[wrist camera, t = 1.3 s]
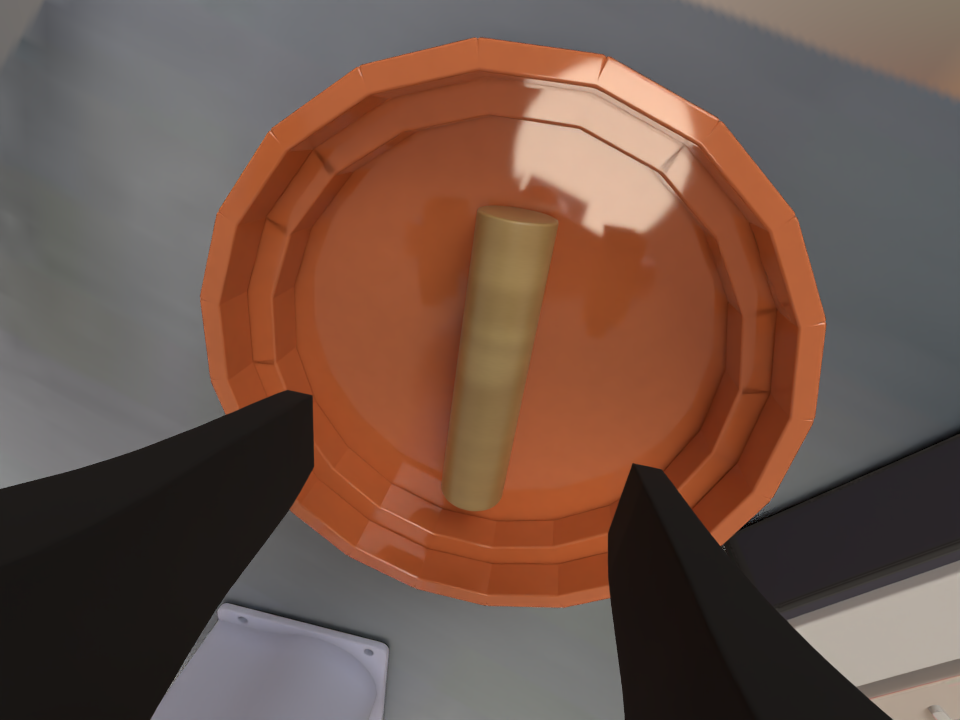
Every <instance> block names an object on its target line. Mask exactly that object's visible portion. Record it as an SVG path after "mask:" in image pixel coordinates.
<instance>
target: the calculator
mask: <svg viewBox="0 0 960 720" xmlns="http://www.w3.org/2000/svg"><path fill="white" fill-rule="evenodd" d="M724 546H725V549H726V551H727V554H728V556H729V557H730V558H731V560H732V561H733V562H734V563H735V564H736V566H737V567H738V568H739V569H740V570H741V571H742V572H743V574H744V575H745V576H746V577H747V578H748V579H749V580H750V582H751V583H752V584H753V585H754V586H755V587H756V588H757V590H758V591H759V592H760V593H761V594H762V595H763V596H764V597H765V598H766V600H767V601H768V602H769V603H770V604H771V605H772V606H773V607H774V608H775V609H776V610H777V611H778V612H779V613H780V614H781V615H782V616H783V617H784V618H785V619H786V620H787V621H788V622H789V623H790V624H791V625H792V627H793V628H794V629H795V630H796V631H797V632H798V633H799V634H800V635H801V636H802V637H803V638H804V639H805V640H806V641H807V642H808V643H809V644H810V645H811V646H812V647H813V648H814V649H815V650H816V651H818V652H819V653H820V654H821V655H822V656H823V657H824V658H825V659H826V660H827V661H828V662H829V663H830V664H831V665H832V666H833V667H834V668H836V669H837V670H838V671H839V672H840V673H841V674H842V675H843V676H844V677H846V678H847V679H848V680H849V681H850V682H851V683H852V684H853V685H854V686H856V687H857V688H858V689H859V690H860V691H861V692H862V693H863V694H864V695H866V696H867V697H868V698H869V699H870V700H871V701H872V702H873V703H875V704H876V705H877V706H878V707H879V708H880V709H881V710H882V711H884V712H885V713H886V714H887V715H888V716H890V717H891V718H892V719H893V720H960V434H958V435H956V436H953V437H951V438H949V439H946V440H944V441H942V442H940V443H937V444H935V445H933V446H931V447H928V448H926V449H924V450H921V451H919V452H917V453H915V454H912V455H910V456H908V457H905V458H903V459H901V460H899V461H896V462H894V463H892V464H890V465H887V466H885V467H883V468H880V469H878V470H876V471H874V472H871V473H869V474H867V475H864V476H862V477H860V478H858V479H855V480H853V481H851V482H848V483H846V484H844V485H842V486H839V487H837V488H835V489H833V490H830V491H828V492H826V493H823V494H821V495H819V496H817V497H814V498H812V499H810V500H807V501H805V502H803V503H801V504H798V505H796V506H794V507H792V508H789V509H787V510H785V511H782V512H780V513H778V514H776V515H773V516H771V517H769V518H766V519H764V520H762V521H760V522H757V523H755V524H753V525H750V526H748V527H746V528H744V529H741V530H739V531H737V532H736V533H735V534H734V535H733V536H732V537H731V538H730V539H729V540H727V541H726V542H725V543H724Z"/></svg>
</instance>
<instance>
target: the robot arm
mask: <svg viewBox="0 0 960 720" xmlns="http://www.w3.org/2000/svg"><path fill="white" fill-rule="evenodd" d="M313 468H314V432H313V395H310V394H305V393H301V392H296V391H291V390H285V391H282V392H279V393H277V394H274V395H272V396H269V397H267V398H264V399H262V400H260V401H257V402H255V403H252V404H250V405H248V406H246V407H243V408H241V409H239V410H236V411H234V412H232V413H229V414H227V415H225V416H222V417H220V418H218V419H215V420H213V421H210V422H208V423H206V424H203V425H201V426H199V427H196V428H194V429H191V430H189V431H186V432H183V433H181V434H178V435H176V436H173V437H170V438H168V439H165V440H163V441H160V442H157V443H155V444H152V445H150V446H147V447H144V448H142V449H139V450H136V451H133V452H130V453H127V454H124V455H121V456H118V457H115V458H112V459H109V460H106V461H102V462H99V463H96V464H93V465H89V466H86V467H83V468H80V469H76V470H73V471H69V472H65V473H62V474H58V475H54V476H50V477H46V478H42V479H38V480H34V481H30V482H26V483H22V484H18V485H14V486H10V487H7V488H3V489H0V720H383V717H384V705H385V694H386V682H387V670H388V659H389V648H388V646H387V645H386V644H384V643H382V642H379V641H375V640H371V639H367V638H363V637H359V636H355V635H351V634H347V633H343V632H339V631H336V630H332V629H328V628H324V627H320V626H316V625H312V624H308V623H304V622H300V621H296V620H292V619H289V618H285V617H281V616H277V615H273V614H269V613H265V612H261V611H257V610H253V609H249V608H245V607H241V606H238V605H234V604H230V603H224V604H222V605H221V606H220V607H219V609H218V610H217V614H218V621H217V623H216V624H215V625H214V627H213V628H212V630H211V631H210V632H209V634H208V635H207V637H206V638H205V639H204V641H203V642H202V644H201V645H200V646H199V648H198V649H197V651H196V652H195V653H194V655H193V656H192V658H191V659H190V660H189V662H188V663H187V665H186V666H185V667H184V669H183V670H182V672H181V673H180V674H179V676H178V677H177V679H176V680H175V681H174V683H173V684H172V686H171V687H170V685H171V683H172V681H173V680H174V678H175V676H176V674H177V673H178V671H179V669H180V668H181V666H182V664H183V662H184V661H185V659H186V657H187V656H188V654H189V652H190V651H191V649H192V647H193V646H194V644H195V643H196V641H197V639H198V638H199V636H200V634H201V633H202V631H203V630H204V628H205V626H206V625H207V623H208V621H209V620H210V618H211V616H212V615H213V613H214V612H215V610H216V609H217V607H218V606H219V604H220V603H221V601H222V600H223V598H224V597H225V596H226V594H227V593H228V591H229V590H230V588H231V587H232V586H233V584H234V583H235V582H236V580H237V579H238V578H239V576H240V575H241V574H242V572H243V571H244V570H245V568H246V567H247V566H248V564H249V563H250V562H251V560H252V559H253V558H254V556H255V555H256V554H257V552H258V551H259V550H260V548H261V547H262V546H263V545H264V543H265V542H266V541H267V539H268V538H269V537H270V535H271V534H272V533H273V531H274V530H275V528H276V527H277V526H278V524H279V523H280V522H281V520H282V519H283V518H284V516H285V515H286V514H287V512H288V511H289V509H290V508H291V507H292V505H293V504H294V502H295V500H296V499H297V497H298V495H299V493H300V492H301V490H302V488H303V486H304V485H305V483H306V481H307V479H308V477H309V475H310V473H311V472H312V470H313ZM608 582H609V590H610V598H611V606H612V614H613V622H614V629H615V637H616V645H617V652H618V660H619V667H620V675H621V683H622V691H623V702H624V713H625V720H893V719H892V718H891V717H890V716H888V715H887V714H886V713H885V712H884V711H882V710H881V709H880V708H879V707H878V706H877V705H876V704H875V703H873V702H872V701H871V700H870V699H869V698H868V697H867V696H866V695H864V694H863V693H862V692H861V691H860V690H859V689H858V688H857V687H856V686H854V685H853V684H852V683H851V682H850V681H849V680H848V679H847V678H846V677H844V676H843V675H842V674H841V673H840V672H839V671H838V670H837V669H836V668H834V667H833V666H832V665H831V664H830V663H829V662H828V661H827V660H826V659H825V658H824V657H823V656H822V655H821V654H820V653H819V652H818V651H816V650H815V649H814V648H813V647H812V646H811V645H810V644H809V643H808V642H807V641H806V640H805V639H804V638H803V637H802V636H801V635H800V634H799V633H798V632H797V631H796V630H795V629H794V628H793V627H792V625H791V624H790V623H789V622H788V621H787V620H786V619H785V618H784V617H783V616H782V615H781V614H780V613H779V612H778V611H777V610H776V609H775V608H774V607H773V606H772V605H771V604H770V603H769V602H768V601H767V600H766V598H765V597H764V596H763V595H762V594H761V593H760V592H759V591H758V590H757V588H756V587H755V586H754V585H753V584H752V583H751V582H750V580H749V579H748V578H747V577H746V576H745V575H744V574H743V572H742V571H741V570H740V569H739V568H738V567H737V566H736V564H735V563H734V562H733V561H732V560H731V558H730V557H729V556H728V555H727V554H726V552H725V551H724V550H723V549H722V547H721V546H720V545H719V544H718V542H717V541H716V540H715V539H714V537H713V536H712V535H711V534H710V532H709V531H708V530H707V528H706V527H705V526H704V525H703V523H702V522H701V521H700V519H699V518H698V517H697V515H696V514H695V513H694V511H693V510H692V509H691V507H690V506H689V505H688V503H687V502H686V501H685V499H684V498H683V497H682V495H681V494H680V493H679V491H678V490H677V489H676V487H675V486H674V485H673V483H672V482H671V481H670V479H669V478H668V477H667V475H666V474H665V473H664V472H663V470H662V469H658V468H653V467H649V466H644V465H639V464H635V463H632V466H631V469H630V472H629V475H628V477H627V480H626V483H625V486H624V489H623V492H622V494H621V497H620V500H619V503H618V506H617V509H616V511H615V514H614V517H613V520H612V523H611V526H610V528H609V531H608ZM169 687H170V688H169ZM168 688H169V690H168ZM167 690H168V691H167ZM166 692H167V693H166ZM165 693H166V694H165Z"/></svg>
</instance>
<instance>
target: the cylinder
mask: <svg viewBox="0 0 960 720" xmlns="http://www.w3.org/2000/svg"><path fill="white" fill-rule="evenodd" d="M558 224H559V223H558V220H557V219H555V218H554V217H552V216H550V215H547V214H544V213H540V212H537V211H532V210H528V209H522V208H516V207H508V206H483V207H480V208H478V210H477V215H476V223H475V230H474V238H473V246H472V253H471V261H470V268H469V276H468V284H467V291H466V299H465V307H464V314H463V322H462V329H461V337H460V345H459V352H458V360H457V367H456V375H455V383H454V390H453V398H452V405H451V413H450V421H449V428H448V436H447V444H446V451H445V459H444V466H443V474H442V482H441V490H442V493H443V495H444V496H445V498H446V499H447V500H448V501H449V502H450V503H451V504H453V505H454V506H456V507H458V508H461V509H464V510H468V511H483V510H487V509H490V508H492V507H494V506H495V505H496V504H497V503H498V502H499V501H500V500H501V498H502V494H503V489H504V485H505V480H506V475H507V470H508V465H509V460H510V456H511V451H512V446H513V441H514V436H515V432H516V427H517V422H518V417H519V412H520V407H521V403H522V398H523V393H524V388H525V383H526V379H527V374H528V369H529V364H530V359H531V354H532V350H533V345H534V340H535V335H536V330H537V326H538V321H539V316H540V311H541V306H542V301H543V297H544V292H545V287H546V282H547V277H548V273H549V268H550V263H551V258H552V253H553V248H554V244H555V239H556V234H557V229H558Z"/></svg>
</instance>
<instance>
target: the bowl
mask: <svg viewBox="0 0 960 720" xmlns="http://www.w3.org/2000/svg"><path fill="white" fill-rule="evenodd" d="M483 206H508V207H516V208H522V209H528V210H532V211H537V212H540V213H544V214H547V215H550V216H552V217H554V218H555V219H557V220H558V223H559V224H558V229H557V234H556V239H555V244H554V248H553V253H552V258H551V263H550V268H549V273H548V277H547V282H546V287H545V292H544V297H543V301H542V306H541V311H540V316H539V321H538V326H537V330H536V335H535V340H534V345H533V350H532V354H531V359H530V364H529V369H528V374H527V379H526V383H525V388H524V393H523V398H522V403H521V407H520V412H519V417H518V422H517V427H516V432H515V436H514V441H513V446H512V451H511V456H510V460H509V465H508V470H507V475H506V480H505V485H504V489H503V494H502V498H501V500H500V501H499V502H498V503H497V504H496V505H495V506H494V507H492V508H490V509H487V510H483V511H468V510H464V509H461V508H458V507H456V506H454V505H453V504H451V503H450V502H449V501H448V500H447V499H446V498H445V496H444V495H443V493H442V490H441V482H442V474H443V466H444V459H445V451H446V444H447V436H448V428H449V421H450V413H451V405H452V398H453V390H454V383H455V375H456V367H457V360H458V352H459V345H460V337H461V329H462V322H463V314H464V307H465V299H466V291H467V284H468V276H469V268H470V261H471V253H472V246H473V238H474V230H475V223H476V215H477V210H478V208H480V207H483ZM200 298H201V300H200V302H201V310H202V318H203V325H204V333H205V341H206V349H207V356H208V364H209V372H210V378H211V383H212V385H213V387H214V389H215V392H216V394H217V396H218V398H219V401H220V403H221V405H222V407H223V410H224V412H225V414H226V415H227V414H229V413H232V412H234V411H236V410H239V409H241V408H243V407H246V406H248V405H250V404H252V403H255V402H257V401H260V400H262V399H264V398H267V397H269V396H272V395H274V394H277V393H279V392H282V391H285V390H291V391H296V392H301V393H305V394H310V395H313V432H314V468H313V470H312V472H311V473H310V475H309V477H308V479H307V481H306V483H305V485H304V486H303V488H302V490H301V492H300V493H299V495H298V497H297V499H296V500H295V502H294V504H293V505H292V507H291V508H290V509H289V510H290V511H291V512H292V513H293V514H295V515H296V516H297V517H299V518H300V519H301V520H302V521H304V522H305V523H306V524H307V525H309V526H310V527H311V528H313V529H314V530H315V531H316V532H318V533H319V534H320V535H321V536H323V537H324V538H325V539H327V540H328V541H329V542H330V543H332V544H333V545H334V546H335V547H337V548H338V549H339V550H341V551H342V552H343V553H344V554H346V555H347V556H348V555H349V557H351V558H353V559H355V560H357V561H359V562H361V563H363V564H365V565H367V566H369V567H371V568H373V569H376V570H378V571H380V572H382V573H384V574H386V575H388V576H390V577H392V578H394V579H396V580H398V581H400V582H402V583H405V584H407V585H409V586H411V587H413V588H414V587H415V588H416V589H419V590H423V591H427V592H431V593H435V594H439V595H443V596H447V597H451V598H456V599H460V600H464V601H468V602H472V603H476V604H480V605H484V606H486V605H487V606H510V607H551V608H561V607H563V608H565V607H569V606H574V605H579V604H584V603H589V602H594V601H598V600H603V599H608V598H610V590H609V582H608V531H609V528H610V526H611V523H612V520H613V517H614V514H615V511H616V509H617V506H618V503H619V500H620V497H621V494H622V492H623V489H624V486H625V483H626V480H627V477H628V475H629V472H630V469H631V466H632V463H635V464H639V465H644V466H649V467H653V468H658V469H662V470H663V472H664V473H665V474H666V475H667V477H668V478H669V479H670V481H671V482H672V483H673V485H674V486H675V487H676V489H677V490H678V491H679V493H680V494H681V495H682V497H683V498H684V499H685V501H686V502H687V503H688V505H689V506H690V507H691V509H692V510H693V511H694V513H695V514H696V515H697V517H698V518H699V519H700V521H701V522H702V523H703V525H704V526H705V527H706V528H707V530H708V531H709V532H710V534H711V535H712V536H713V537H714V539H715V540H716V541H717V542H718V544H719V545H720V546H722V545H723V544H724V543H725V542H726V541H727V540H729V539H730V538H731V537H732V536H733V535H734V534H735V533H736V532H737V531H738V530H739V529H740V528H742V527H743V526H744V525H745V524H746V523H747V522H748V521H749V520H750V519H751V518H752V517H753V516H755V515H756V514H757V513H758V512H759V511H760V510H761V509H762V508H763V507H764V506H765V505H766V504H768V503H769V502H770V500H771V498H773V497H774V495H775V493H776V491H777V489H778V487H779V485H780V484H781V482H782V480H783V478H784V476H785V474H786V472H787V471H788V469H789V467H790V465H791V463H792V461H793V459H794V458H795V456H796V454H797V452H798V450H799V448H800V446H801V445H802V443H803V441H804V439H805V437H806V435H807V433H808V432H809V430H810V428H811V426H812V424H813V421H814V420H813V419H814V418H815V413H816V405H817V397H818V389H819V381H820V372H821V364H822V356H823V348H824V340H825V331H826V322H825V321H826V317H825V314H824V310H823V307H822V303H821V299H820V296H819V292H818V289H817V285H816V282H815V278H814V275H813V271H812V267H811V264H810V260H809V257H808V253H807V250H806V246H805V243H804V239H803V235H802V232H801V228H800V225H799V221H798V218H797V217H796V216H795V212H794V211H793V210H792V208H791V207H790V206H789V205H788V203H787V202H786V201H785V200H784V198H783V197H782V196H781V195H780V193H779V192H778V191H777V190H776V188H775V187H774V186H773V185H772V183H771V182H770V181H769V179H768V178H767V177H766V176H765V174H764V173H763V172H762V171H761V169H760V168H759V167H758V166H757V164H756V163H755V162H754V161H753V159H752V158H751V157H750V156H749V154H748V153H747V152H746V150H745V149H744V148H743V147H742V145H741V144H740V143H739V142H738V140H737V139H736V138H735V137H734V135H733V134H732V133H731V132H730V130H729V129H728V128H727V127H726V125H725V124H724V123H723V122H722V121H719V119H718V117H716V116H714V115H712V114H711V113H709V112H707V111H705V110H704V109H702V108H700V107H698V106H697V105H695V104H693V103H691V102H689V101H688V100H686V99H684V98H682V97H681V96H679V95H677V94H675V93H674V92H672V91H670V90H668V89H666V88H665V87H663V86H661V85H659V84H658V83H656V82H654V81H652V80H651V79H649V78H647V77H645V76H644V75H642V74H640V73H638V72H636V71H635V70H633V69H631V68H629V67H628V66H626V65H624V64H622V63H621V62H619V61H617V60H615V59H614V58H612V57H608V56H607V57H606V56H605V55H604V54H598V53H591V52H583V51H576V50H569V49H562V48H555V47H548V46H541V45H534V44H526V43H519V42H512V41H505V40H498V39H491V38H484V37H480V38H478V39H477V38H475V37H474V38H469V39H465V40H461V41H457V42H453V43H449V44H445V45H441V46H436V47H432V48H428V49H424V50H420V51H416V52H412V53H408V54H403V55H399V56H395V57H391V58H387V59H383V60H379V61H375V62H370V63H366V64H362V65H361V66H360V67H356V68H355V69H353V70H352V71H350V72H349V73H348V74H346V75H345V76H343V77H342V78H341V79H339V80H338V81H337V82H335V83H334V84H332V85H331V86H330V87H328V88H327V89H325V90H324V91H323V92H321V93H320V94H318V95H317V96H316V97H314V98H313V99H311V100H310V101H309V102H307V103H306V104H304V105H303V106H302V107H300V108H299V109H297V110H296V111H295V112H293V113H292V114H290V115H289V116H288V117H286V118H285V119H284V120H282V121H281V122H279V123H278V124H277V125H275V126H274V127H272V129H271V131H269V132H268V133H267V135H266V136H265V138H264V140H263V141H262V143H261V144H260V146H259V147H258V149H257V151H256V152H255V154H254V155H253V157H252V159H251V160H250V162H249V163H248V165H247V166H246V168H245V170H244V171H243V173H242V174H241V176H240V177H239V179H238V181H237V182H236V184H235V185H234V187H233V188H232V190H231V192H230V193H229V195H228V196H227V198H226V200H225V201H224V203H223V204H222V206H221V207H220V209H219V212H218V213H217V215H216V220H215V225H214V230H213V235H212V240H211V245H210V250H209V255H208V260H207V264H206V269H205V274H204V279H203V284H202V289H201V294H200Z"/></svg>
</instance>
